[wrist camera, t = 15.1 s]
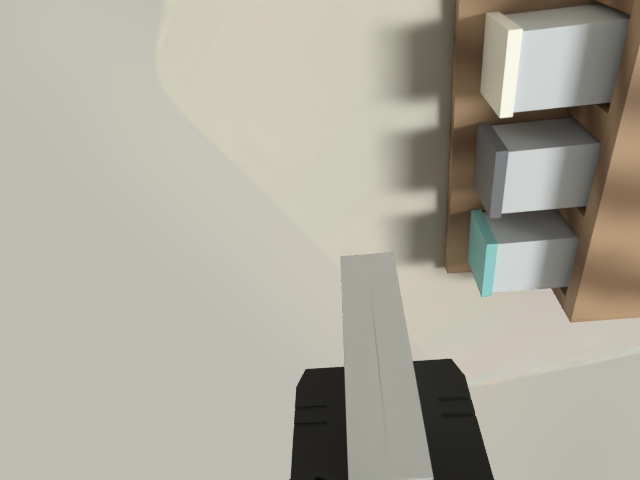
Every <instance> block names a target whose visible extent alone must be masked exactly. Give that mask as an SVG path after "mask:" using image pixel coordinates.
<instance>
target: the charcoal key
mask: <svg viewBox="0 0 640 480" xmlns="http://www.w3.org/2000/svg"><path fill="white" fill-rule="evenodd" d="M600 147H601V142H600V141H599V140H598V139H596V138H595V137H594V136H593V135H592V134H591V133H590V132H589V131H588V130H587V129H586V128H585V127H584V126H582V125H581V124H580V123H579V122H578V121H577V120H576V119H575V118H574V117H570V118H560V119H550V120H541V121H531V122H521V123H511V124H502V125H492V126H491V124H490V123H489V122H485V123H478V127H477V140H476V154H475V168H474V181H473V186H474V188H475V190H476V192H477V194H478V196H479V198H480V200H481V202H482V204H483V206H484V208H485V210H486V212H487V214H488V216H489V219H491V218H501V214H503V213H514V212H525V211H536V210H548V209H559V208H570V207H581V206H587V203H588V199H589V194H590V190H591V186H592V181H593V177H594V173H595V168H596V164H597V160H598V156H599V151H600Z"/></svg>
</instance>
